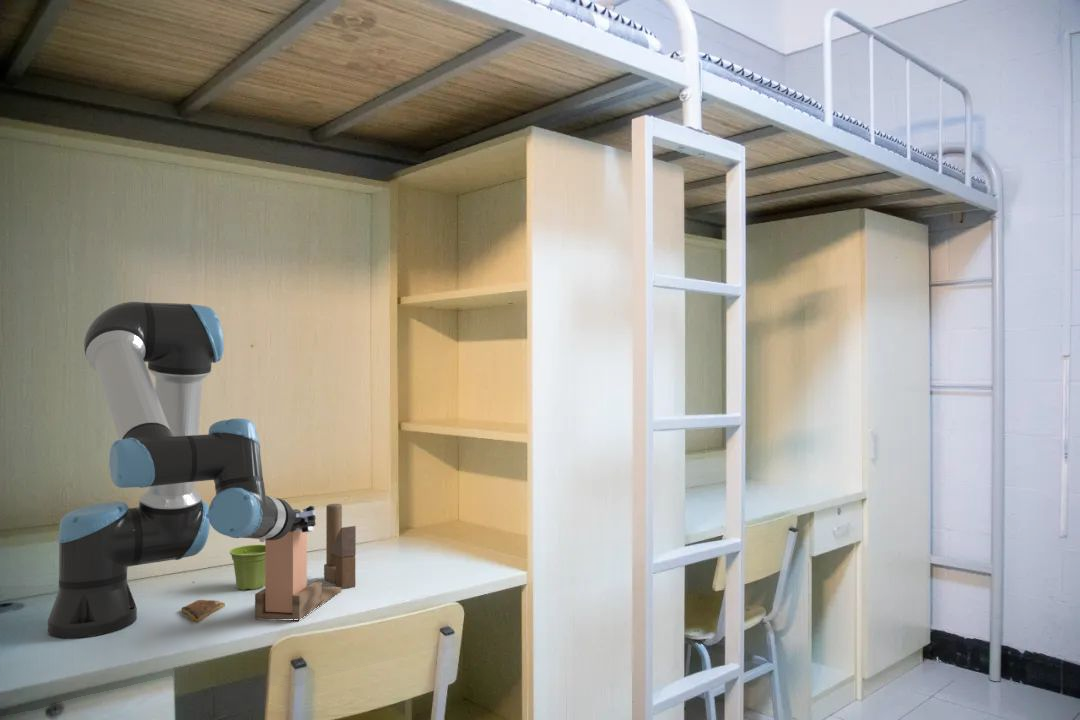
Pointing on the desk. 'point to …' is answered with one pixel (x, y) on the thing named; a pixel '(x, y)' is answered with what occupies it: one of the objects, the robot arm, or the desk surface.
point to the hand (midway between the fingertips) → (309, 525)
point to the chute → (297, 602)
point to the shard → (202, 609)
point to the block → (285, 570)
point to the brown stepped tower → (339, 549)
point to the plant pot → (249, 566)
